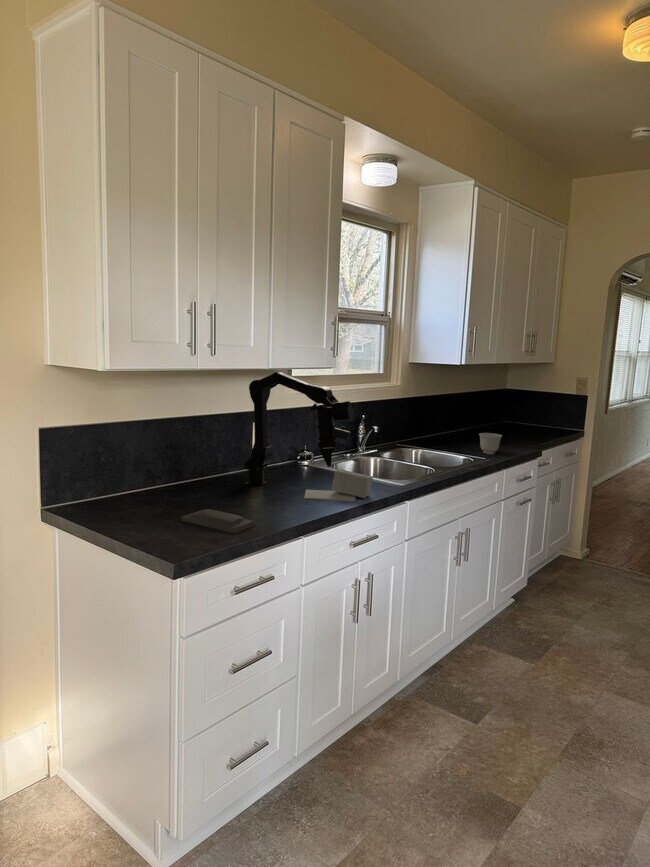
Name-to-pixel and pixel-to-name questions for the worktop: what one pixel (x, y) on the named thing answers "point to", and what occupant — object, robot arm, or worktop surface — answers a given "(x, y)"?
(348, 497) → the grey mat
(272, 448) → the robot arm
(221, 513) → the soap mold
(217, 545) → the worktop surface
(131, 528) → the worktop surface
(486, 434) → the teacup
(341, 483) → the supplement box
